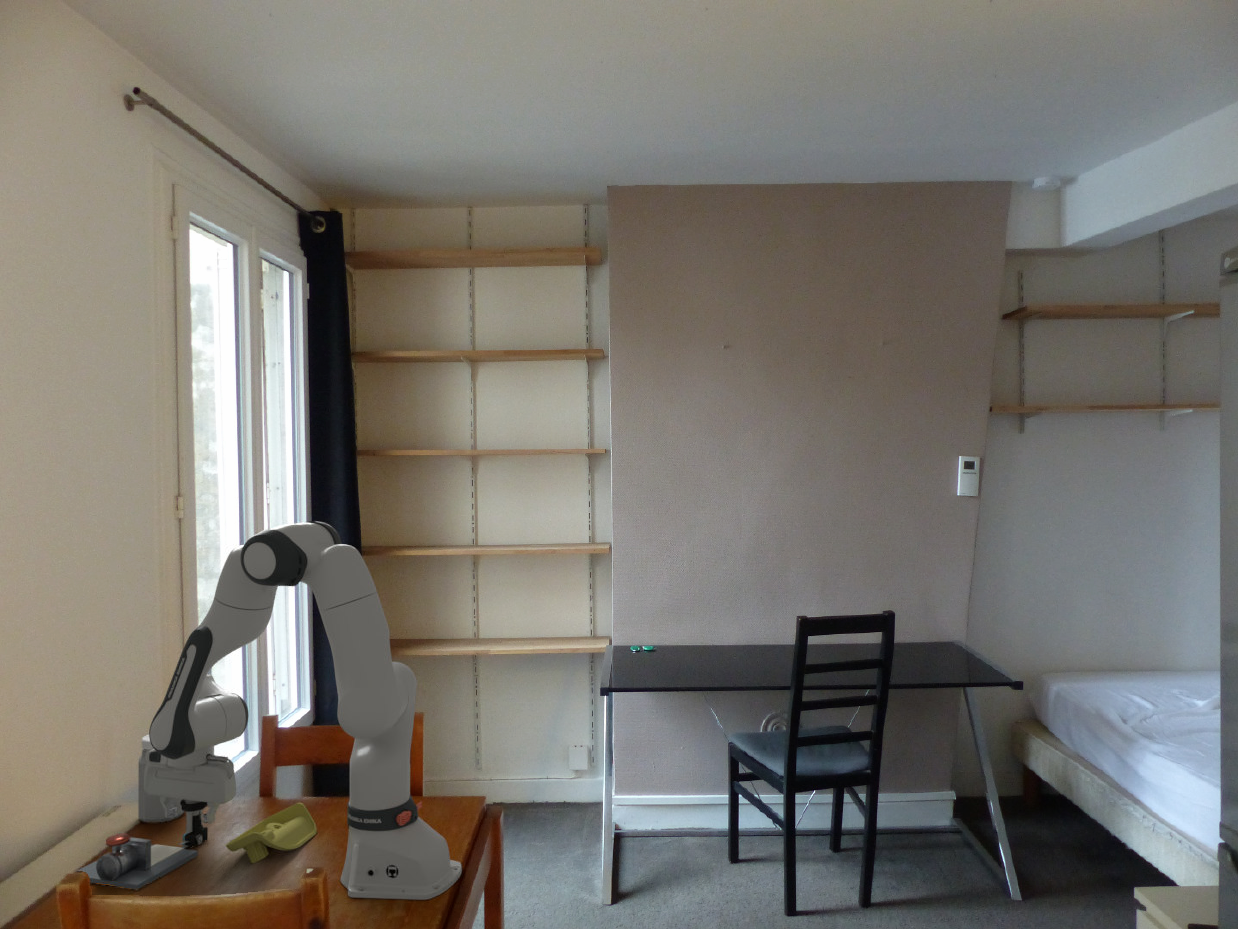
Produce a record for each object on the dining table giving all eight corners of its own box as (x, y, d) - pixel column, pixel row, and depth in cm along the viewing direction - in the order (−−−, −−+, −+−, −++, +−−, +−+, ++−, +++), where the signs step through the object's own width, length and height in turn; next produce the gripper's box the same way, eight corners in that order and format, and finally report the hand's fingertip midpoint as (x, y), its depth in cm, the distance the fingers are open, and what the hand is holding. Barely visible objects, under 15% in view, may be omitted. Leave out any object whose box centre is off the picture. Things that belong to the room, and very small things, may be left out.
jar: (180, 822, 190) (180, 740, 190) (131, 827, 187) (131, 744, 187) (191, 806, 199) (191, 728, 199) (144, 810, 197) (145, 731, 197)
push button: (190, 853, 174) (190, 803, 174) (169, 850, 175) (169, 801, 175) (214, 840, 180) (214, 792, 180) (193, 837, 182) (193, 789, 182)
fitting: (150, 870, 165) (151, 832, 165) (124, 884, 159) (124, 845, 159) (117, 865, 167) (117, 828, 167) (89, 879, 161) (89, 841, 161)
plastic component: (265, 818, 186) (306, 798, 185) (278, 851, 185) (320, 831, 184) (215, 851, 166) (261, 829, 166) (230, 887, 165) (276, 865, 165)
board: (198, 855, 173) (198, 850, 173) (137, 890, 158) (137, 884, 158) (134, 846, 177) (134, 841, 177) (68, 880, 162) (68, 874, 162)
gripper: (243, 752, 178) (243, 819, 178) (162, 743, 183) (161, 809, 183) (222, 762, 172) (221, 831, 172) (138, 752, 177) (137, 820, 177)
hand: (189, 819), depth 178 cm, fingers open, 8 cm apart
